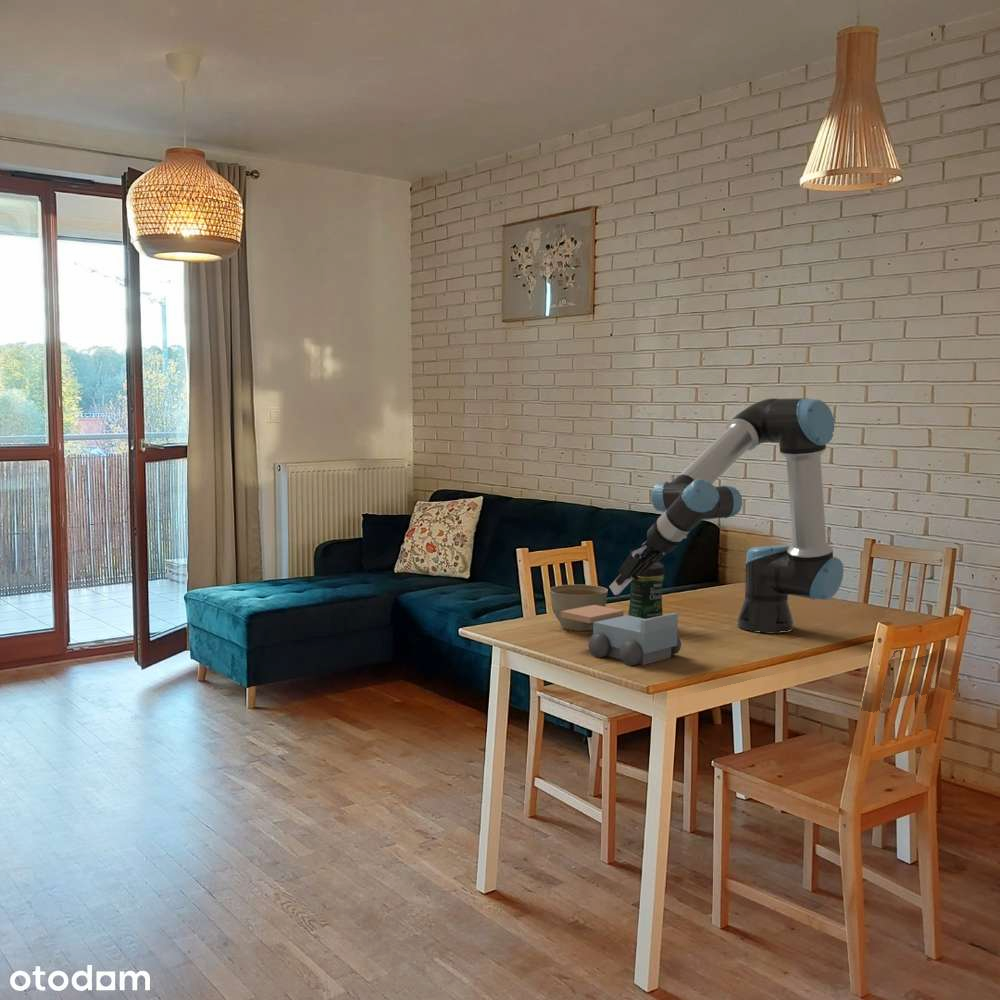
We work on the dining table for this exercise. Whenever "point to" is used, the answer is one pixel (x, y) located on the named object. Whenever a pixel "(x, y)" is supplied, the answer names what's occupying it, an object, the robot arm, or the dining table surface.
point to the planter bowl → (576, 602)
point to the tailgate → (592, 613)
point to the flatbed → (636, 638)
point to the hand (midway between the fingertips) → (613, 590)
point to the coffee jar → (647, 593)
